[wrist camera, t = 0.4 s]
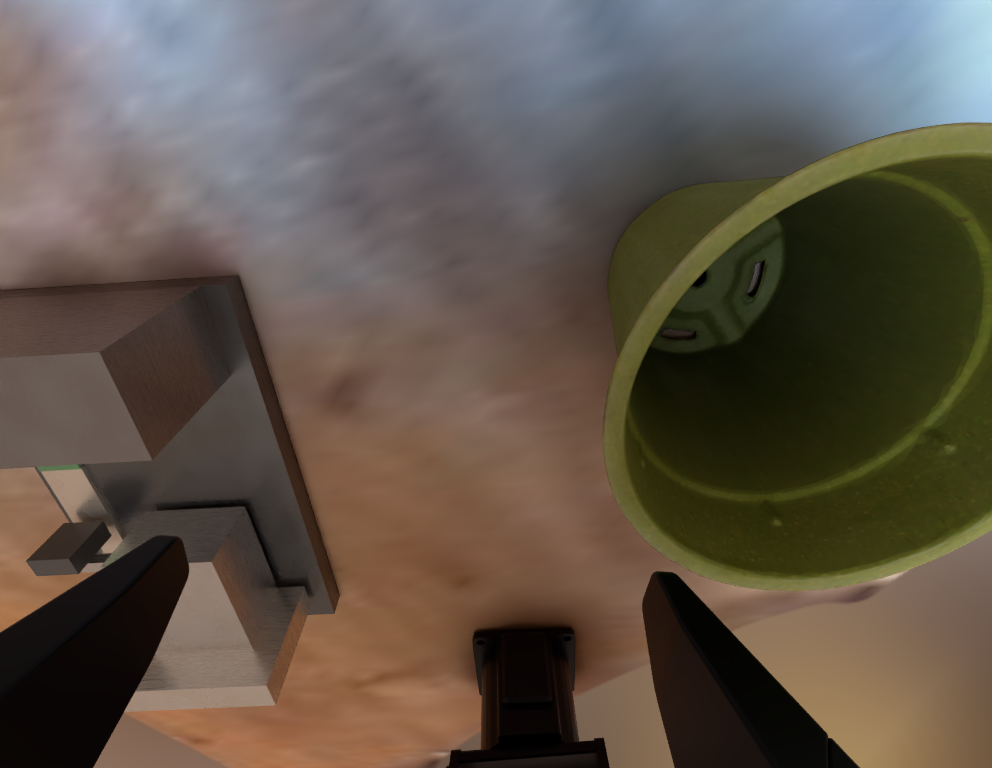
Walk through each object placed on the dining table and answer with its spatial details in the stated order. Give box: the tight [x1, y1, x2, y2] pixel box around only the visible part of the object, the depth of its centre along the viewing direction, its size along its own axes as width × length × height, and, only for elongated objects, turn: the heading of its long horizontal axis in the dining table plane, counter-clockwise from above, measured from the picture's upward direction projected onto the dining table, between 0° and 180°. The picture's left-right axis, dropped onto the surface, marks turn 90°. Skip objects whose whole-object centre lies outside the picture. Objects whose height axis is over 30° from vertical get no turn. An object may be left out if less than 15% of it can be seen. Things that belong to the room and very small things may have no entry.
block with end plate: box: [81, 506, 311, 712], centre depth 25 cm, size 8×10×6 cm
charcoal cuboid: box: [26, 521, 112, 576], centre depth 25 cm, size 1×2×2 cm, turn 94°
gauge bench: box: [0, 275, 340, 615], centre depth 23 cm, size 20×12×7 cm, turn 4°
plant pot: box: [603, 123, 992, 591], centre depth 17 cm, size 12×12×11 cm
